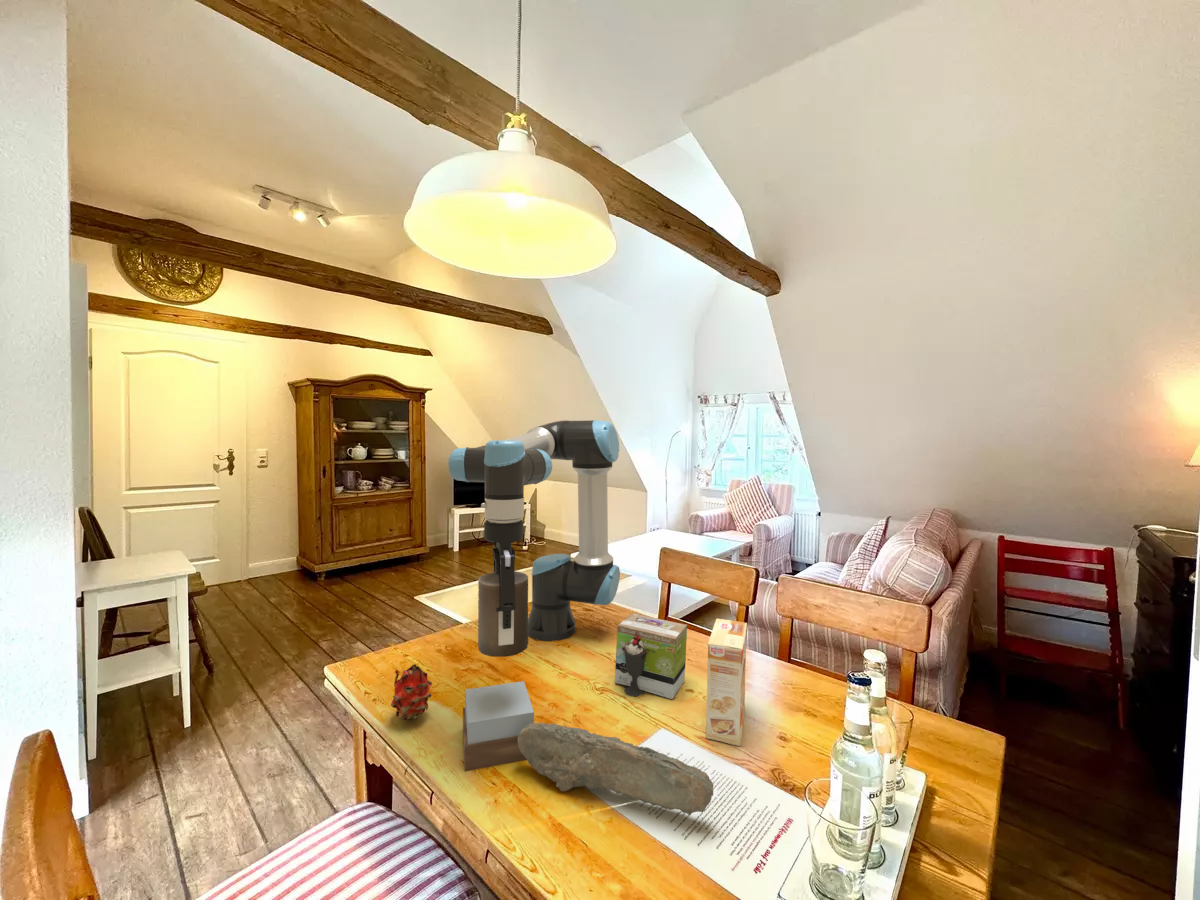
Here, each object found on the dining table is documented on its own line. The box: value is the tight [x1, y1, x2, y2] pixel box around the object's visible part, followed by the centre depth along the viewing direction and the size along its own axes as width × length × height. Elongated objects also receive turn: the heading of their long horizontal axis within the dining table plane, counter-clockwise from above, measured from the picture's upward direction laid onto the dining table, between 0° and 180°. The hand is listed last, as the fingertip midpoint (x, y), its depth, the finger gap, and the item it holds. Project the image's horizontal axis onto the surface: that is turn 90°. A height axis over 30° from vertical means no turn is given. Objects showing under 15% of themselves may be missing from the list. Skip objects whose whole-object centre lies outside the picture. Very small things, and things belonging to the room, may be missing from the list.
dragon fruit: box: [390, 663, 433, 721], centre depth 103 cm, size 8×8×12 cm
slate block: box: [464, 680, 535, 745], centre depth 95 cm, size 12×12×4 cm
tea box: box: [614, 612, 688, 700], centre depth 119 cm, size 15×10×15 cm, turn 64°
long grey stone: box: [518, 722, 714, 816], centre depth 82 cm, size 35×5×10 cm, turn 70°
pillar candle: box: [477, 570, 529, 658], centre depth 95 cm, size 10×10×15 cm
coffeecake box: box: [705, 618, 748, 747], centre depth 103 cm, size 15×7×20 cm, turn 160°
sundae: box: [622, 632, 649, 697], centre depth 115 cm, size 7×7×15 cm
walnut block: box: [462, 706, 528, 772], centre depth 96 cm, size 13×13×5 cm
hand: (503, 633), depth 95 cm, fingers closed on pillar candle, 10 cm apart
